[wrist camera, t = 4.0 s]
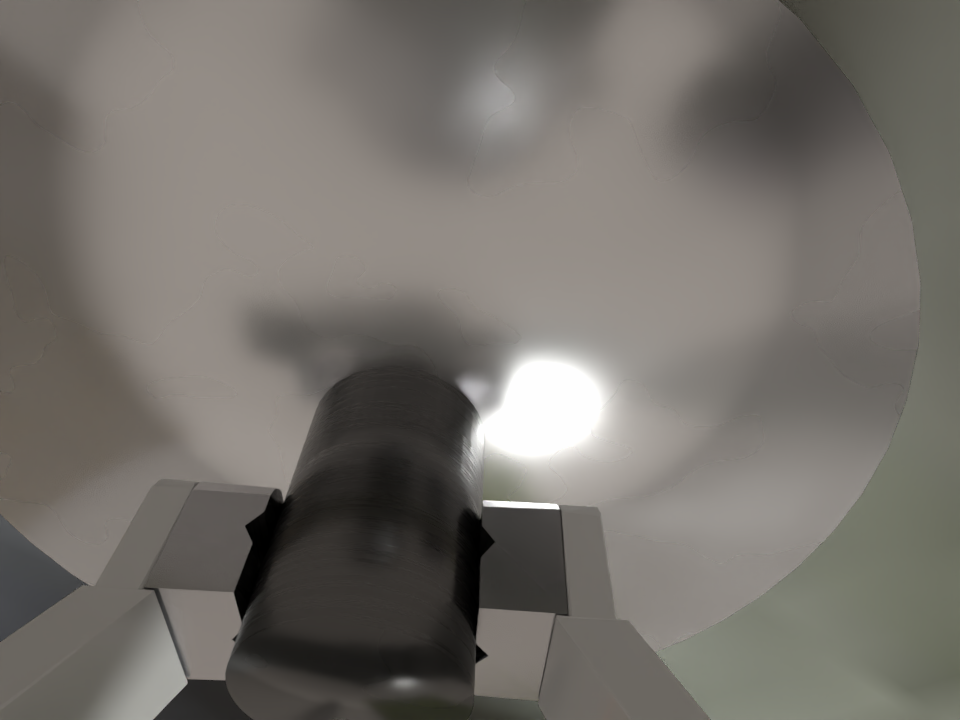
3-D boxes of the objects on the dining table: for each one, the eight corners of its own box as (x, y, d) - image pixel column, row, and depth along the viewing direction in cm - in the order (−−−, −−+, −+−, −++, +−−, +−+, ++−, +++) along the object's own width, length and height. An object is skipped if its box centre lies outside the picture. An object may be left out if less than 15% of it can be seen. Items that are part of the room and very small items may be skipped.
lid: (1150, -45, 7) (1891, 75, 3) (702, 685, 16) (764, 954, 12) (-318, -288, 6) (-1543, -496, 3) (48, 616, 15) (-111, 880, 11)
